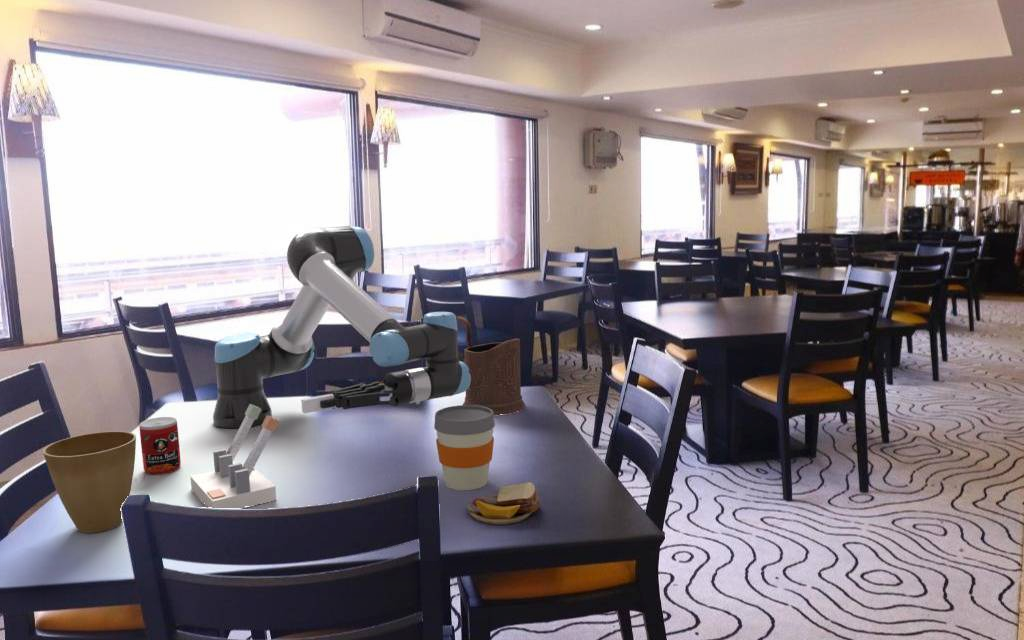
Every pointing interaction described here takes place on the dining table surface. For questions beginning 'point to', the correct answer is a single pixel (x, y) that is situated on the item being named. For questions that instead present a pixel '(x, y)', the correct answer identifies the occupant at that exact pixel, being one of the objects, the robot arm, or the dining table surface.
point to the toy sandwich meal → (506, 504)
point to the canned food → (160, 445)
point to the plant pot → (93, 476)
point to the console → (231, 485)
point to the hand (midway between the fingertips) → (303, 406)
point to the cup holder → (493, 374)
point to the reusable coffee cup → (465, 445)
